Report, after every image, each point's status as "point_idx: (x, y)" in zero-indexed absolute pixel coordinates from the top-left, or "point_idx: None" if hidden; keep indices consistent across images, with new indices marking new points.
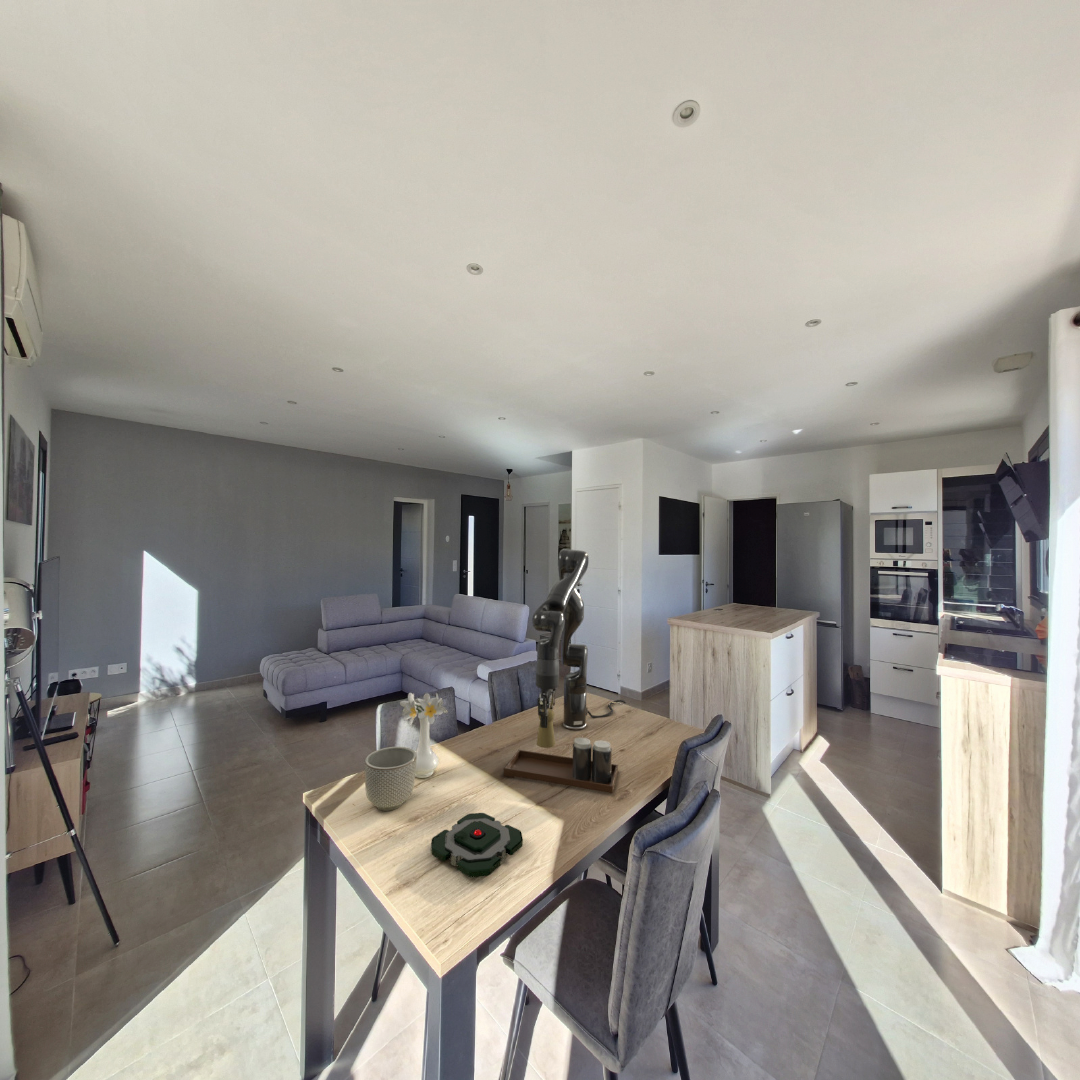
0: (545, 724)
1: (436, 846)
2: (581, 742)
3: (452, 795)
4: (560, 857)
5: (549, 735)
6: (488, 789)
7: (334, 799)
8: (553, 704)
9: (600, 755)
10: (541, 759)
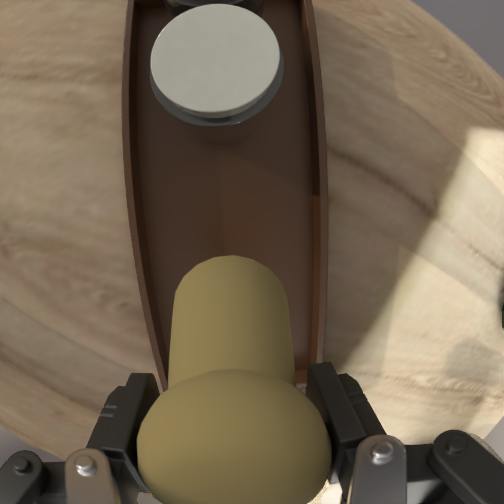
0: (349, 386)
1: None
2: (246, 51)
3: (419, 406)
4: None
5: (276, 310)
6: (391, 366)
7: None
8: (42, 475)
9: None
10: (156, 304)
